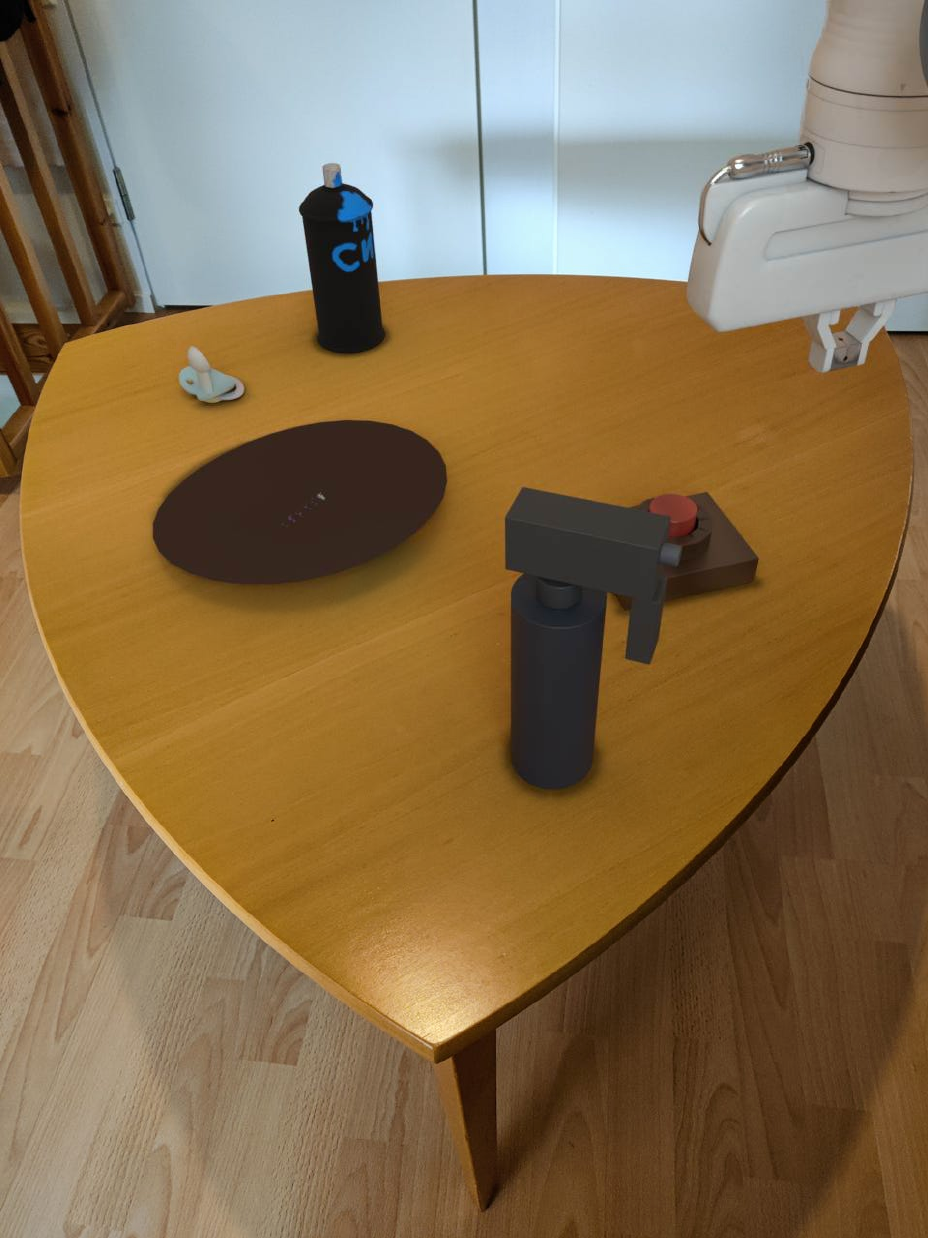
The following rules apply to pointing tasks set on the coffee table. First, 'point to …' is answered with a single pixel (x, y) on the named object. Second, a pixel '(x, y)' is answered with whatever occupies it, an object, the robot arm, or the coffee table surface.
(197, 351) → the pacifier
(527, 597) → the spray bottle
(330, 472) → the plate
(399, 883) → the coffee table surface
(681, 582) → the button block
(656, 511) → the button
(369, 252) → the aerosol can
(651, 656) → the block
